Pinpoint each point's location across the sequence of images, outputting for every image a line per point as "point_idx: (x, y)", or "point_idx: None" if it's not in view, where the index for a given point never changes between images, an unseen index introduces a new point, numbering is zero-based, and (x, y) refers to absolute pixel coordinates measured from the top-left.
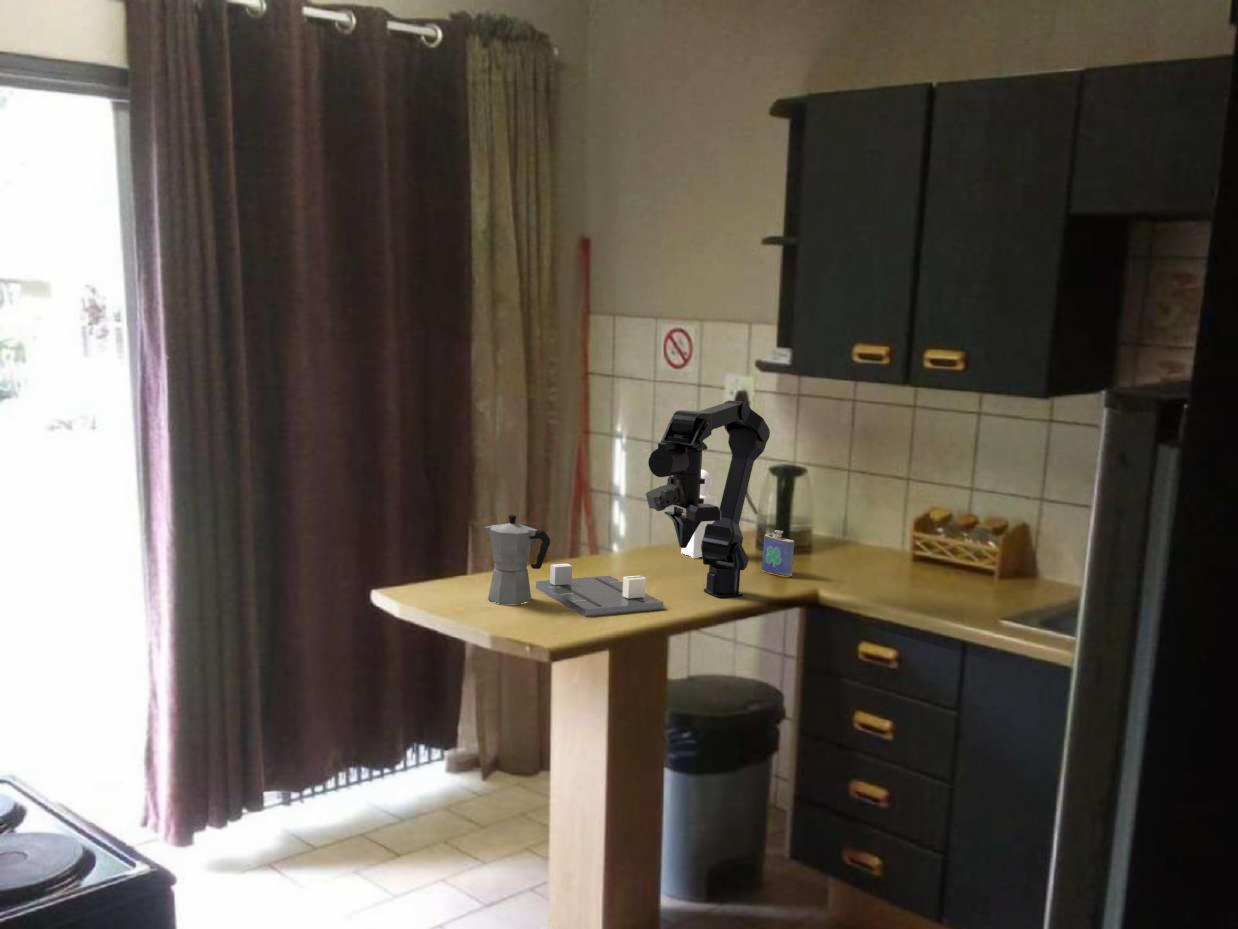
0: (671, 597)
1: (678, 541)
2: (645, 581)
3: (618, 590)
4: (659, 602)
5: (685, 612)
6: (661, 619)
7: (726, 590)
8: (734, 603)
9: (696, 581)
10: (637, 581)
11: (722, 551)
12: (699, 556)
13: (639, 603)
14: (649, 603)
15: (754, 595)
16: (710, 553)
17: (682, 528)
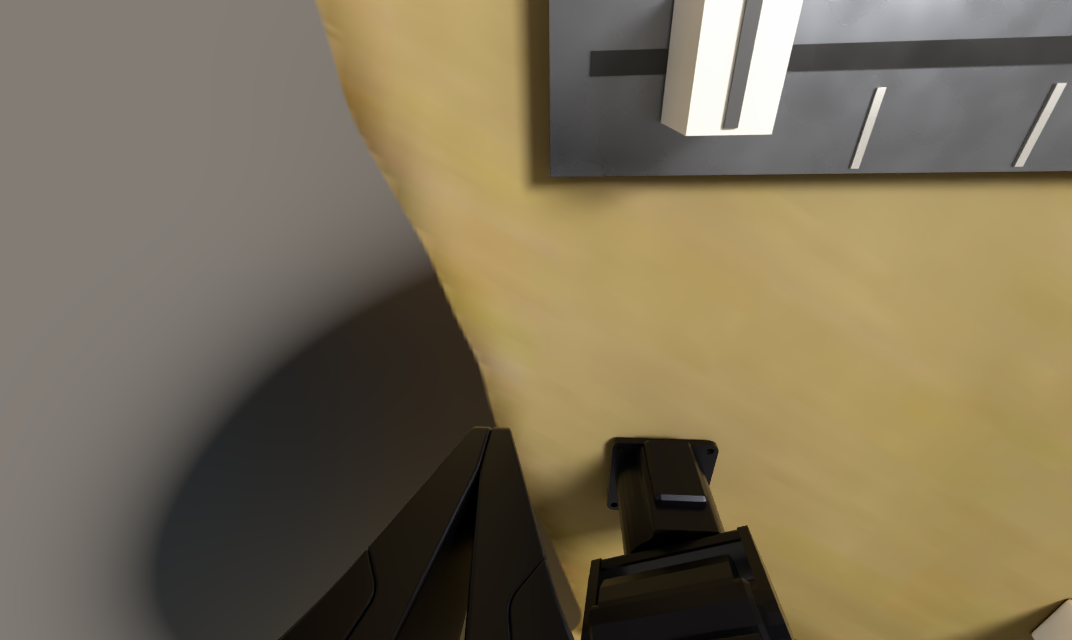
0: (706, 305)
1: (511, 460)
2: (681, 131)
3: (879, 42)
4: (552, 154)
5: (482, 240)
6: (395, 66)
7: (620, 479)
8: (544, 445)
9: (838, 482)
10: (693, 60)
11: (619, 617)
12: (1058, 617)
13: (567, 21)
14: (550, 86)
15: (604, 526)
16: (688, 581)
17: (302, 627)
